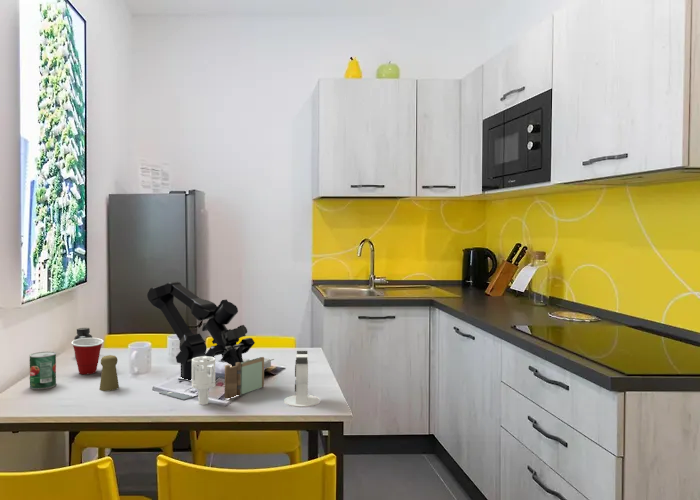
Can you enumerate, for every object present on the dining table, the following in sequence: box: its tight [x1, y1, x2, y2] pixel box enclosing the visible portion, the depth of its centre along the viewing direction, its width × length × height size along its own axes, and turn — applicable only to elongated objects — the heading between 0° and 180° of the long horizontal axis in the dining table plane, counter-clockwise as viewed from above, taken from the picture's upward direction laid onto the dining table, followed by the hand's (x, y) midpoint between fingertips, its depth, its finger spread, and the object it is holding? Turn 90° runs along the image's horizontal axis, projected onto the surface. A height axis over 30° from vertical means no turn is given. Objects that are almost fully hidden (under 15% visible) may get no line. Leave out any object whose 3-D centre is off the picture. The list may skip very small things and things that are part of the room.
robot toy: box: [242, 357, 275, 368], centre depth 215 cm, size 12×4×15 cm
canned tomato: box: [29, 351, 57, 390], centre depth 191 cm, size 8×8×11 cm
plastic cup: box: [71, 337, 104, 375], centre depth 209 cm, size 11×11×12 cm
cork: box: [99, 354, 120, 392], centre depth 190 cm, size 6×6×11 cm
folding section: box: [241, 356, 265, 395], centre depth 189 cm, size 2×11×10 cm, turn 147°
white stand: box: [283, 350, 321, 408], centre depth 179 cm, size 12×11×15 cm
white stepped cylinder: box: [191, 356, 216, 406], centre depth 175 cm, size 7×7×15 cm
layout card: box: [158, 390, 193, 401], centre depth 185 cm, size 12×9×1 cm
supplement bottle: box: [73, 327, 94, 359], centre depth 232 cm, size 7×7×12 cm
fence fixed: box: [224, 362, 242, 399], centre depth 181 cm, size 2×6×11 cm, turn 147°
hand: (243, 369), depth 189 cm, fingers closed
